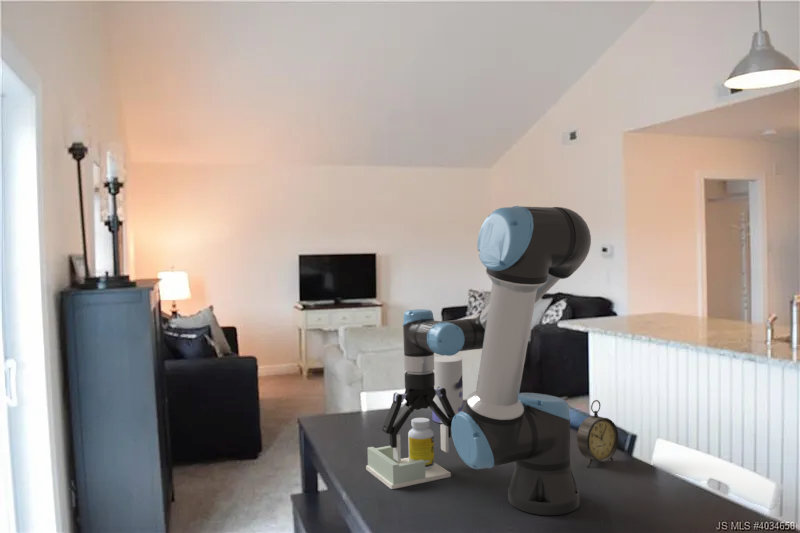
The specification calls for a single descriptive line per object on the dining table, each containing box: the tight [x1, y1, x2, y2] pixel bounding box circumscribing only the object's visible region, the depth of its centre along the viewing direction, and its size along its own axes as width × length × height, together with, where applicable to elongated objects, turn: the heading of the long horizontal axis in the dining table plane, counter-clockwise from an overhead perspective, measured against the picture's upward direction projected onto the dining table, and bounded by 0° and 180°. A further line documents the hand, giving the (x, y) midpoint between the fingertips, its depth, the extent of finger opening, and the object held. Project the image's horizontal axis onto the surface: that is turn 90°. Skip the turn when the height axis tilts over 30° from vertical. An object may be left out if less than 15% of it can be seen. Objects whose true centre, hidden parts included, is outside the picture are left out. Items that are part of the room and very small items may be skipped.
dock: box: [365, 445, 452, 490], centre depth 154 cm, size 15×16×6 cm
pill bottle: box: [407, 417, 435, 469], centre depth 155 cm, size 6×6×12 cm
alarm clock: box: [576, 399, 619, 468], centre depth 157 cm, size 11×5×16 cm, turn 119°
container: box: [431, 355, 464, 424], centre depth 200 cm, size 10×10×20 cm
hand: (421, 455), depth 155 cm, fingers open, 13 cm apart
